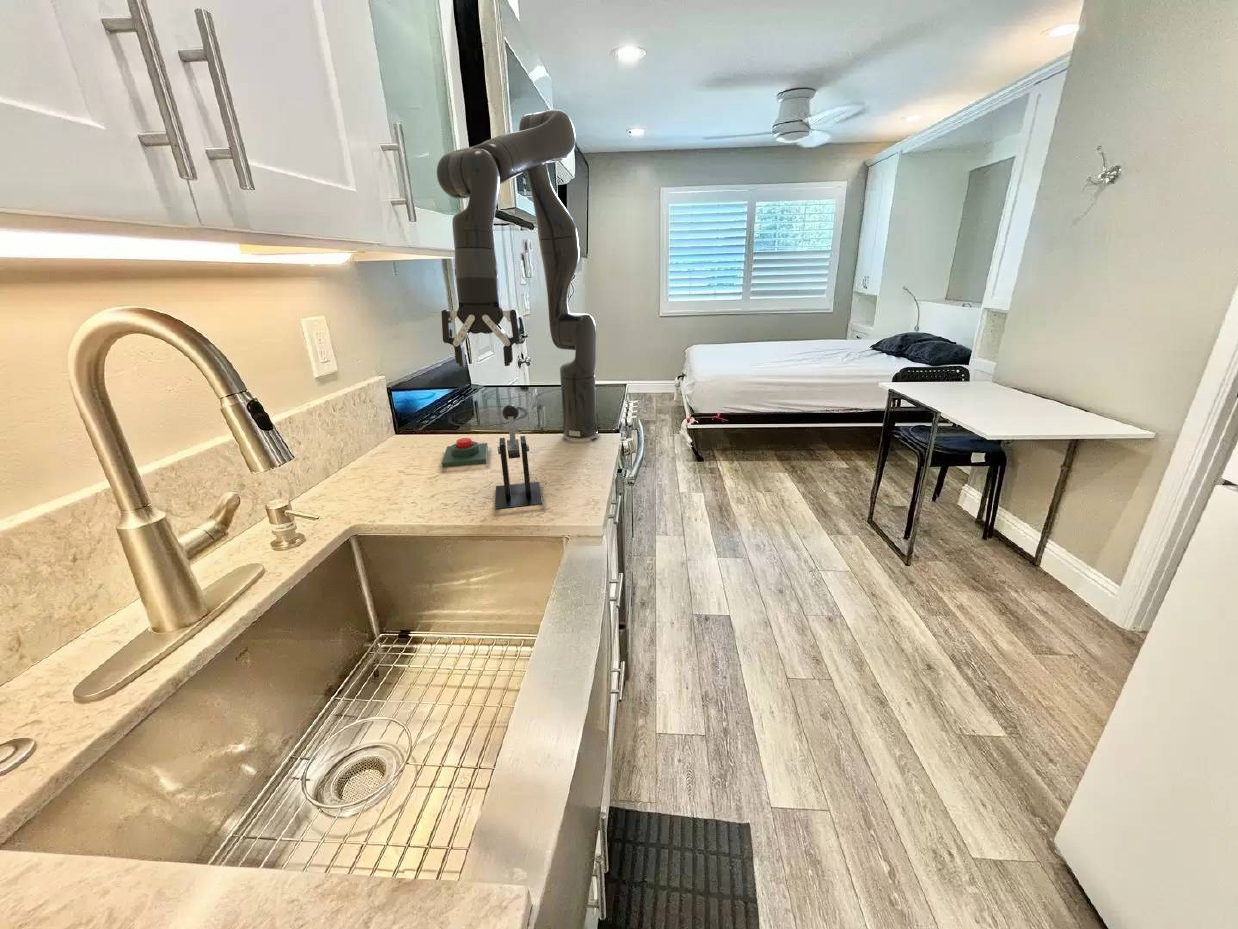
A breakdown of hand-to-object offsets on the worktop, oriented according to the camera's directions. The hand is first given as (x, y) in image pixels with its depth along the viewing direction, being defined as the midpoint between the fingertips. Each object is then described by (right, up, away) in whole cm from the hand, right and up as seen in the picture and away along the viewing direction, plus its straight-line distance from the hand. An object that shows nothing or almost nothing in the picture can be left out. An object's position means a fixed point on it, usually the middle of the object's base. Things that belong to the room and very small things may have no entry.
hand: (484, 365), depth 95 cm
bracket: (+5, -26, +5) cm, 27 cm away
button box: (-12, -18, +26) cm, 34 cm away
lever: (+4, -13, +6) cm, 15 cm away
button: (-12, -15, +25) cm, 31 cm away
